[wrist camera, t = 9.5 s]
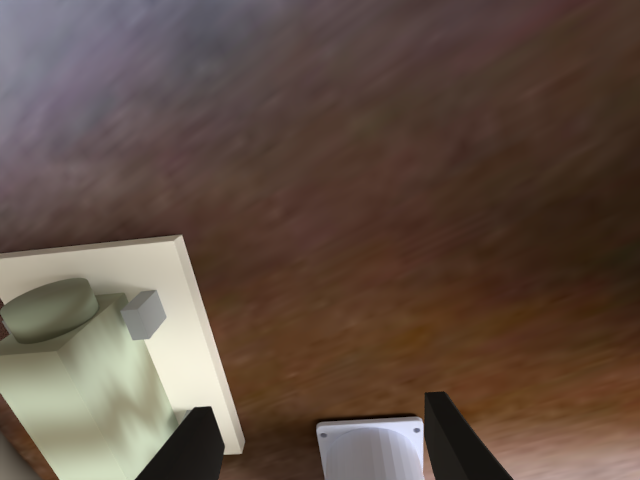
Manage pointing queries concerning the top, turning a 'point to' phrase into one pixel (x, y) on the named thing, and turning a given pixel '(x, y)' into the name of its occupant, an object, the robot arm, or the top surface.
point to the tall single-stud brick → (83, 382)
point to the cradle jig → (145, 313)
